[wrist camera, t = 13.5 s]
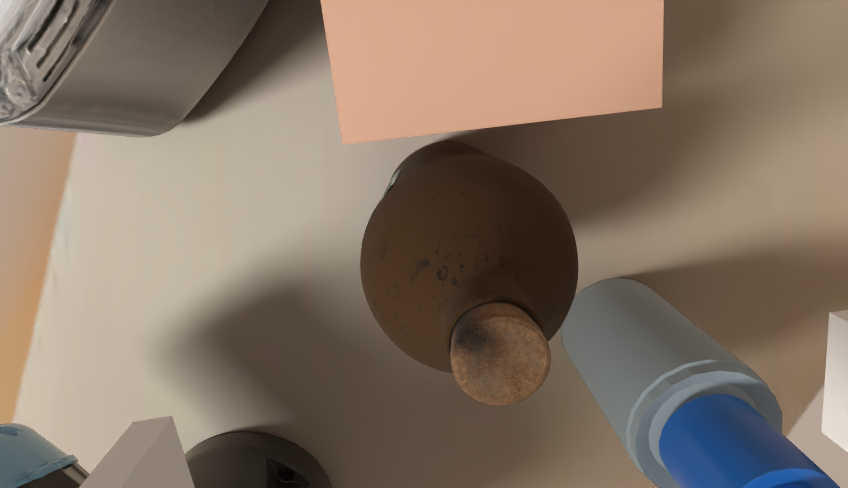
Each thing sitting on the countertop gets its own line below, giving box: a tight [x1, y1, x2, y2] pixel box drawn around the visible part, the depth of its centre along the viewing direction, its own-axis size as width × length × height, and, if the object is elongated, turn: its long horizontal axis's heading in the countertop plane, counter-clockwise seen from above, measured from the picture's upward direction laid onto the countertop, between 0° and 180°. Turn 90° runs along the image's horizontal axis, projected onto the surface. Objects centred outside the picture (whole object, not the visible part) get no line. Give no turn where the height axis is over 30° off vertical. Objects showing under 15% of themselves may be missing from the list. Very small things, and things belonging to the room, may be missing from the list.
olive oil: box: [360, 142, 578, 405], centre depth 28 cm, size 11×11×25 cm
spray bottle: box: [561, 278, 840, 488], centre depth 32 cm, size 9×9×25 cm
